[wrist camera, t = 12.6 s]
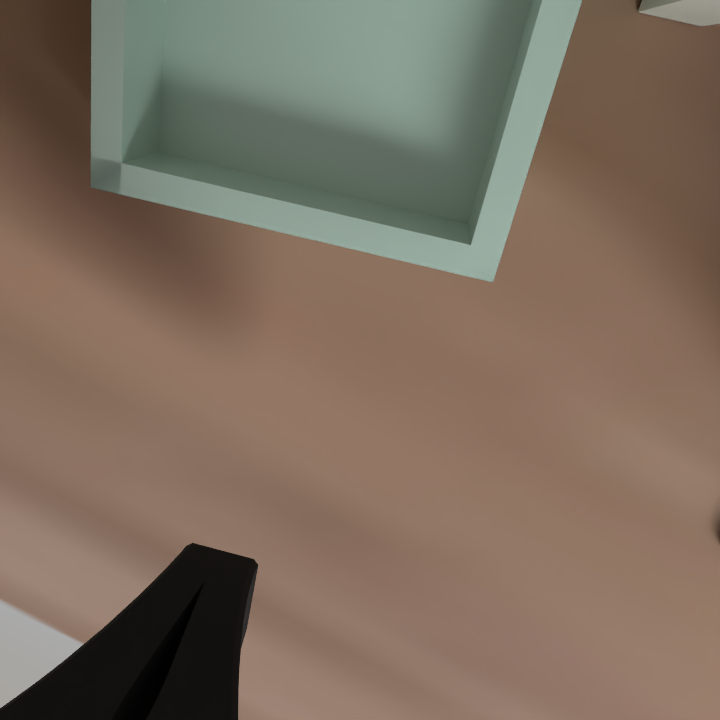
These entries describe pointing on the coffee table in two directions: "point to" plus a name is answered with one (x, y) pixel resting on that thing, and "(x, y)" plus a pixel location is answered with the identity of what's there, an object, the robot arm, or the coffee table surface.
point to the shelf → (684, 10)
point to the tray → (331, 116)
